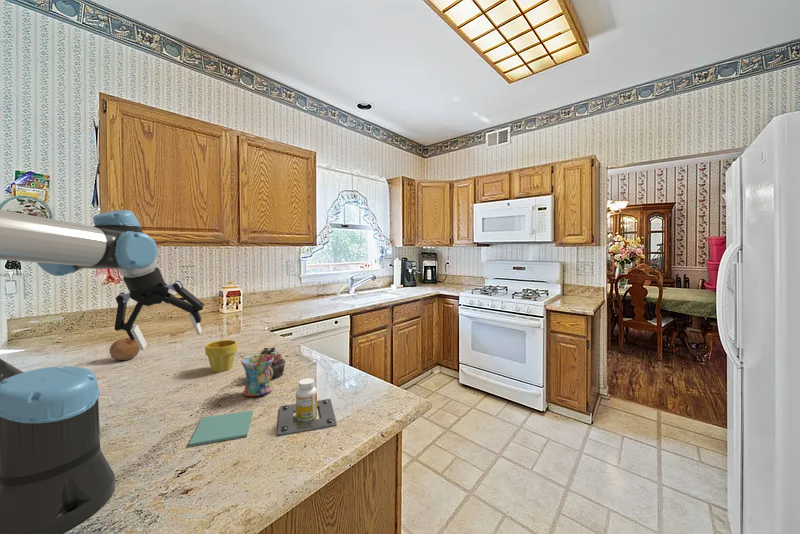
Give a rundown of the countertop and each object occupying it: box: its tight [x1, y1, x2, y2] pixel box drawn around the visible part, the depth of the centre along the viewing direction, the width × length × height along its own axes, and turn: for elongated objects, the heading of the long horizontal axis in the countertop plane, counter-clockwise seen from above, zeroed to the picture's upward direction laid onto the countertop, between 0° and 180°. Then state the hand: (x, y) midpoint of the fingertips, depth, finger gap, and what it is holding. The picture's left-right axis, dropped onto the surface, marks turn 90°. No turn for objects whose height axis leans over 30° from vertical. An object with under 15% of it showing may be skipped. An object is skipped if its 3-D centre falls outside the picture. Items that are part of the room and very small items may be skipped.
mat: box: [188, 409, 254, 447], centre depth 79 cm, size 12×12×1 cm
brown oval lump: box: [109, 337, 141, 362], centre depth 129 cm, size 10×9×10 cm
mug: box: [240, 354, 274, 397], centre depth 98 cm, size 12×9×11 cm
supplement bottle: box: [295, 378, 318, 422], centre depth 84 cm, size 5×5×10 cm
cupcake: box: [259, 347, 286, 381], centre depth 111 cm, size 10×10×10 cm
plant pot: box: [204, 339, 238, 373], centre depth 118 cm, size 10×10×10 cm
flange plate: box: [277, 398, 337, 437], centre depth 84 cm, size 14×14×1 cm
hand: (172, 339), depth 88 cm, fingers open, 13 cm apart
